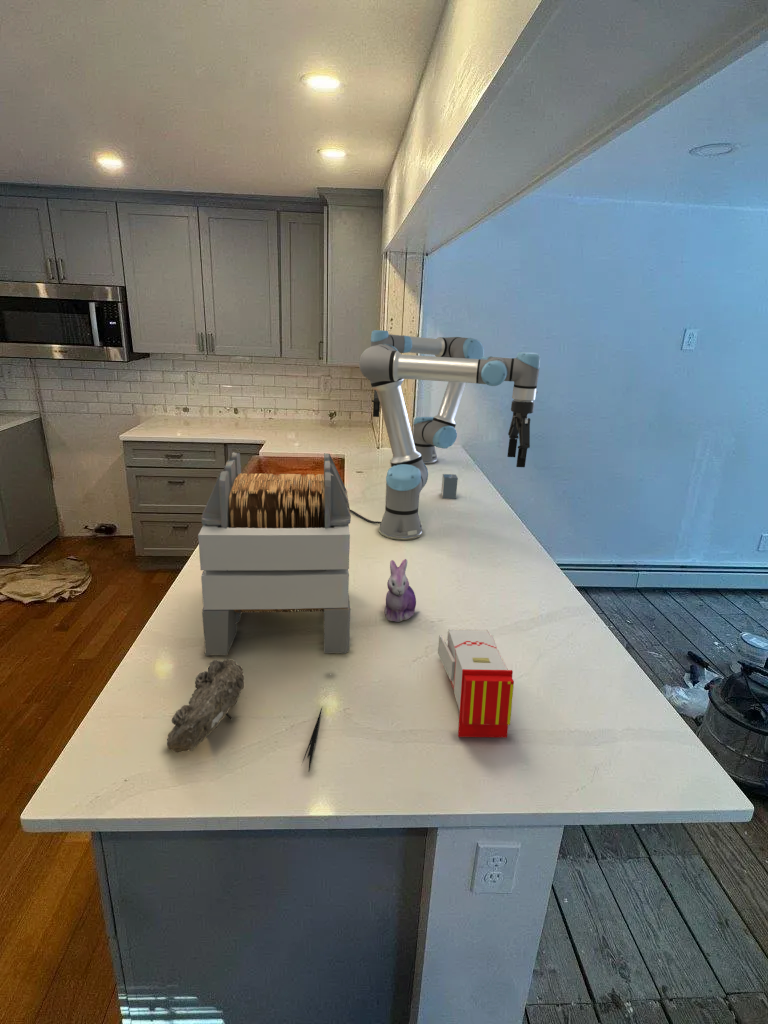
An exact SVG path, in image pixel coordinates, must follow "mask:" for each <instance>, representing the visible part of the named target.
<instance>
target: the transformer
mask: <svg viewBox="0 0 768 1024" xmlns="http://www.w3.org/2000/svg"><path fill="white" fill-rule="evenodd" d="M241 463H242V462H241V453H240V452H235V451H233V452H231V455H230V457H229V459H227V460H226V463H225V466H224V468H223V470H222V471H220V474H219V475H218V477H217V479H216V482H215V483H214V486H213V489H212V491H211V494H210V495H209V498H208V499H207V502H206V505H205V507H204V509H203V511H202V514H201V517H200V520H201V524H202V527H201V529H200V530H199V532H198V535H197V538H198V550H199V552H198V553H199V563H200V565H199V567H200V571H202V573H201V575H200V580H201V581H200V582H201V594H202V605H203V607H202V609H201V610H202V611H201V617H202V629H203V638H204V639H203V640H204V649H205V650H204V651H205V652H204V655H205V656H206V657H212V656H228V654H229V652H230V650H231V647H232V645H233V643H234V640H235V638H236V635H237V632H238V623H240V620H241V617H242V614H244V613H250V614H251V613H253V614H254V613H257V614H258V613H298V612H301V613H302V612H308V613H309V612H322V614H323V654H344V655H346V654H347V653H349V652H350V639H351V604H350V595H349V594H350V593H349V586H350V585H349V584H350V572H349V571H350V570H349V569H350V549H351V548H350V547H351V545H350V542H351V533H350V532H351V531H350V526H349V525H350V524H351V520H352V516H351V515H352V514H351V512H350V510H351V509H350V502H349V496H348V490H347V488H346V486H345V484H344V482H343V480H342V478H341V474H340V473H339V471H338V469H337V466H336V465H335V462H334V460H333V458H332V455H331V454H330V453H326V452H324V453H323V473H322V474H321V473H318V474H316V475H315V474H314V473H306V474H303V475H302V474H301V473H280V474H273V473H244V472H243V473H242V466H241Z"/></svg>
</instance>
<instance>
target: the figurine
mask: <svg viewBox="0 0 768 1024" xmlns="http://www.w3.org/2000/svg"><path fill="white" fill-rule="evenodd" d="M407 567H408V559H406V558H404V559H403V560H402V561H401V563H400V565H399V566H398V565H397V563H396V562H395V561H394V560H393V559H391V560H390V561H389V570H390V576H389V578H388V579H387V589H388V591H387V592H386V594H385V595H386V596H385V607H384V615H385V616H386V620H387V621H391V622H395V623H400V622H402V621H406V620H409V619H410V618H411V617H413V616H414V615H415V610H416V606H417V597H416V593H415V591H414V590H413V587H411V586H410V582H409V579H408V577H407V574H406V571H407Z"/></svg>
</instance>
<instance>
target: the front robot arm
mask: <svg viewBox="0 0 768 1024" xmlns="http://www.w3.org/2000/svg"><path fill="white" fill-rule="evenodd" d="M358 361H359V362H358V368H359V370H360V372H361V375H362V376H363V377H364V378H366V379H367V380H368V381H369V382H370V386H371V388H372V389H373V390H374V389H375V390H376V391H377V393H378V397H379V401H380V410H381V413H382V416H383V420H384V424H385V430H386V433H387V437H388V441H389V445H390V449H391V453H392V458H391V459H390V462H389V463H390V466H391V467H389V468H388V470H387V471H386V476H385V483H386V484H385V504H384V505H385V507H384V508H385V509H384V513H383V515H382V519H381V521H379V520H378V521H377V520H376V521H374V520H370V519H369V518H366V517H365V516H362V515H361V514H359V513H358V512H356V511H354V510H352V509H350V513H352V514H354V515H356V516H357V517H359V518H360V519H362V520H364V521H366V522H368V523H371V524H379V527H378V533H379V534H380V535H381V536H382V537H385V538H387V539H389V540H395V541H410V540H415V539H418V538H420V537H421V536H422V535H423V525H422V524H421V518H420V515H419V507H420V506H419V505H420V496H421V495H420V494H421V492H422V491H423V488H424V487H425V486H426V484H427V483H428V480H429V479H428V478H429V470H428V467H427V464H424V463H423V460H422V456H421V454H420V453H419V452H417V451H416V448H415V444H414V440H413V430H412V427H411V423H410V420H409V414H408V411H407V407H406V402H405V397H404V393H403V391H402V390H403V389H402V384H403V382H404V380H415V381H416V380H417V381H430V382H431V381H433V382H447V383H448V382H462V383H466V384H478V385H487V386H489V387H498V386H500V385H501V384H502V383H504V382H513V387H512V395H511V398H512V399H513V400H512V401H511V406H510V411H511V412H512V417H511V422H510V424H509V425H510V426H509V430H508V433H507V435H508V448H507V458H516V466H515V467H516V468H525V467H526V462H527V461H526V460H527V453H528V449H530V447H531V418H530V417H528V415H530V414H533V413H534V411H535V403H536V402H535V400H536V396H537V395H536V394H538V390H537V387H538V381H539V374H540V366H541V356H540V354H539V353H537V352H525V351H524V352H522V351H521V352H520V351H519V352H518V353H517V354H516V357H502V356H501V357H500V356H483V357H482V358H481V359H467V358H451V357H436V356H435V355H419V354H418V355H415V354H414V355H413V354H402V353H399V351H398V350H397V349H396V348H395V347H393V346H391V345H388V344H379V345H376V346H371V345H370V346H369V347H367V348H365V350H363V352H362V353H361V355H360V357H359V360H358ZM518 441H519V445H518ZM517 449H518V450H517ZM516 454H517V457H516Z"/></svg>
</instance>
